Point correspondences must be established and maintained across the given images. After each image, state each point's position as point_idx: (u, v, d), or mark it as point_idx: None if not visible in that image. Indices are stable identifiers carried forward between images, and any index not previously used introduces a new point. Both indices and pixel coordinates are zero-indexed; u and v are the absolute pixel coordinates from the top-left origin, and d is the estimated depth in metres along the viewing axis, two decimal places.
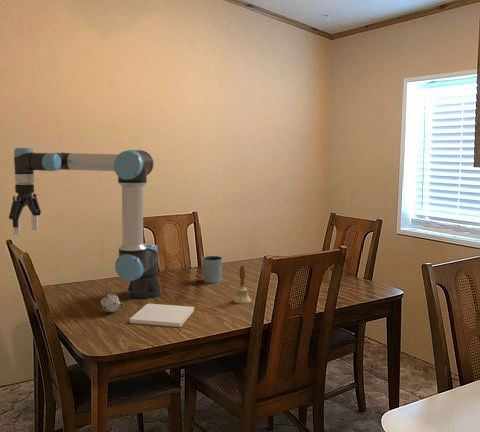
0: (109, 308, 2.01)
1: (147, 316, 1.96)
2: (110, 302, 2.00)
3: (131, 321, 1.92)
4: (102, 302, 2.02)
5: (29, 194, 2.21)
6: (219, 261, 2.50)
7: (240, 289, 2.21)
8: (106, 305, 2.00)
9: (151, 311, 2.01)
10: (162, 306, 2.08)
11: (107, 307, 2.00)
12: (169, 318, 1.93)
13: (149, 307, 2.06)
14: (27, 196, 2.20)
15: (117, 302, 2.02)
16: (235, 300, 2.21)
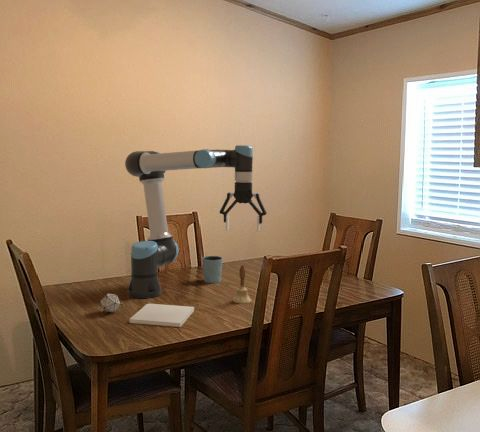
0: (109, 308, 2.01)
1: (147, 316, 1.96)
2: (110, 302, 2.00)
3: (131, 321, 1.92)
4: (102, 302, 2.02)
5: (246, 192, 2.17)
6: (219, 261, 2.50)
7: (240, 289, 2.21)
8: (106, 305, 2.00)
9: (151, 311, 2.01)
10: (162, 306, 2.08)
11: (107, 307, 2.00)
12: (169, 318, 1.93)
13: (149, 307, 2.06)
14: (243, 194, 2.17)
15: (117, 302, 2.02)
16: (235, 300, 2.21)
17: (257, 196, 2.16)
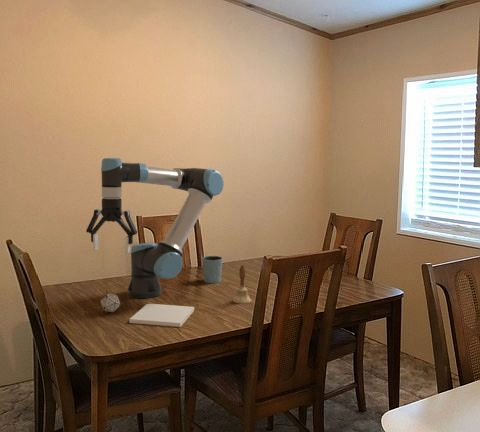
0: (109, 308, 2.01)
1: (147, 316, 1.96)
2: (110, 302, 2.00)
3: (131, 321, 1.92)
4: (102, 302, 2.02)
5: (114, 210, 1.98)
6: (219, 261, 2.50)
7: (240, 289, 2.21)
8: (106, 305, 2.00)
9: (151, 311, 2.01)
10: (162, 306, 2.08)
11: (107, 307, 2.00)
12: (169, 318, 1.93)
13: (149, 307, 2.06)
14: (110, 212, 1.98)
15: (117, 302, 2.02)
16: (235, 300, 2.21)
17: (125, 214, 1.97)
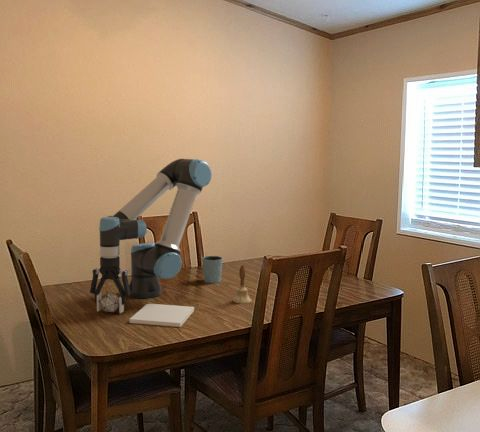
0: (109, 308, 2.01)
1: (147, 316, 1.96)
2: (110, 302, 2.00)
3: (131, 321, 1.92)
4: (102, 302, 2.02)
5: (113, 268, 2.00)
6: (219, 261, 2.50)
7: (240, 289, 2.21)
8: (106, 305, 2.00)
9: (151, 311, 2.01)
10: (162, 306, 2.08)
11: (107, 307, 2.00)
12: (169, 318, 1.93)
13: (149, 307, 2.06)
14: (109, 270, 2.01)
15: (117, 302, 2.02)
16: (235, 300, 2.21)
17: (123, 274, 2.00)
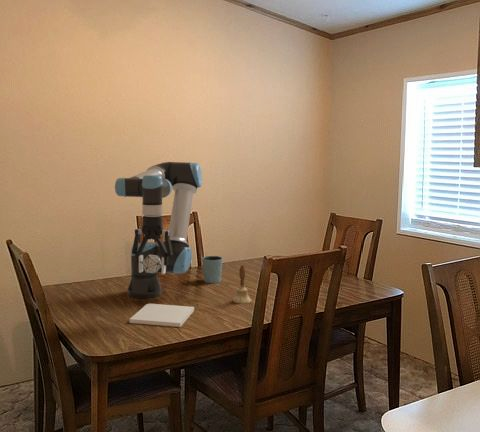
0: (151, 269, 1.95)
1: (147, 316, 1.96)
2: (152, 263, 1.95)
3: (131, 321, 1.92)
4: (144, 263, 1.96)
5: (156, 227, 1.95)
6: (219, 261, 2.50)
7: (240, 289, 2.21)
8: (149, 265, 1.95)
9: (151, 311, 2.01)
10: (162, 306, 2.08)
11: (149, 268, 1.95)
12: (169, 318, 1.93)
13: (149, 307, 2.06)
14: (151, 229, 1.95)
15: (159, 263, 1.97)
16: (235, 300, 2.21)
17: (166, 234, 1.94)
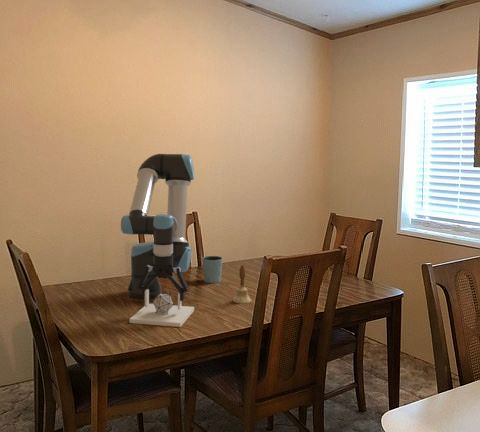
0: (163, 308, 1.97)
1: (147, 316, 1.96)
2: (164, 302, 1.97)
3: (131, 321, 1.92)
4: (155, 302, 1.98)
5: (166, 267, 1.97)
6: (219, 261, 2.50)
7: (240, 289, 2.21)
8: (160, 305, 1.96)
9: (151, 311, 2.01)
10: None
11: (161, 307, 1.96)
12: (169, 318, 1.93)
13: (149, 307, 2.06)
14: (162, 268, 1.97)
15: (170, 302, 1.99)
16: (235, 300, 2.21)
17: (178, 271, 1.96)
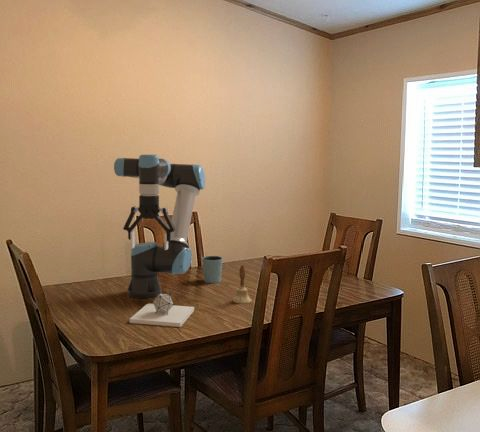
0: (163, 308, 1.97)
1: (147, 316, 1.96)
2: (164, 302, 1.97)
3: (131, 321, 1.92)
4: (155, 302, 1.98)
5: (152, 207, 1.96)
6: (219, 261, 2.50)
7: (240, 289, 2.21)
8: (160, 305, 1.96)
9: (151, 311, 2.01)
10: None
11: (161, 307, 1.96)
12: (169, 318, 1.93)
13: (149, 307, 2.06)
14: (148, 209, 1.96)
15: (170, 302, 1.99)
16: (235, 300, 2.21)
17: (164, 211, 1.95)
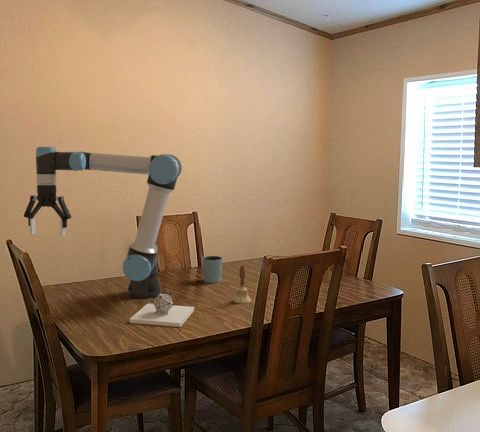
0: (163, 308, 1.97)
1: (147, 316, 1.96)
2: (164, 302, 1.97)
3: (131, 321, 1.92)
4: (155, 302, 1.98)
5: (49, 196, 2.10)
6: (219, 261, 2.50)
7: (240, 289, 2.21)
8: (160, 305, 1.96)
9: (151, 311, 2.01)
10: None
11: (161, 307, 1.96)
12: (169, 318, 1.93)
13: (149, 307, 2.06)
14: (45, 197, 2.10)
15: (170, 302, 1.99)
16: (235, 300, 2.21)
17: (59, 199, 2.09)
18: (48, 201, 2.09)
